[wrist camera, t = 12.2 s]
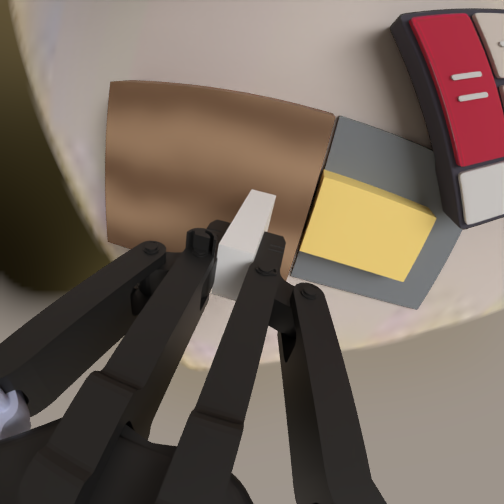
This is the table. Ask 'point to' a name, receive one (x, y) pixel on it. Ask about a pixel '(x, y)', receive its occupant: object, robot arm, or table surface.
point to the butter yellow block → (365, 227)
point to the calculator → (460, 104)
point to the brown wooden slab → (206, 161)
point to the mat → (397, 182)
